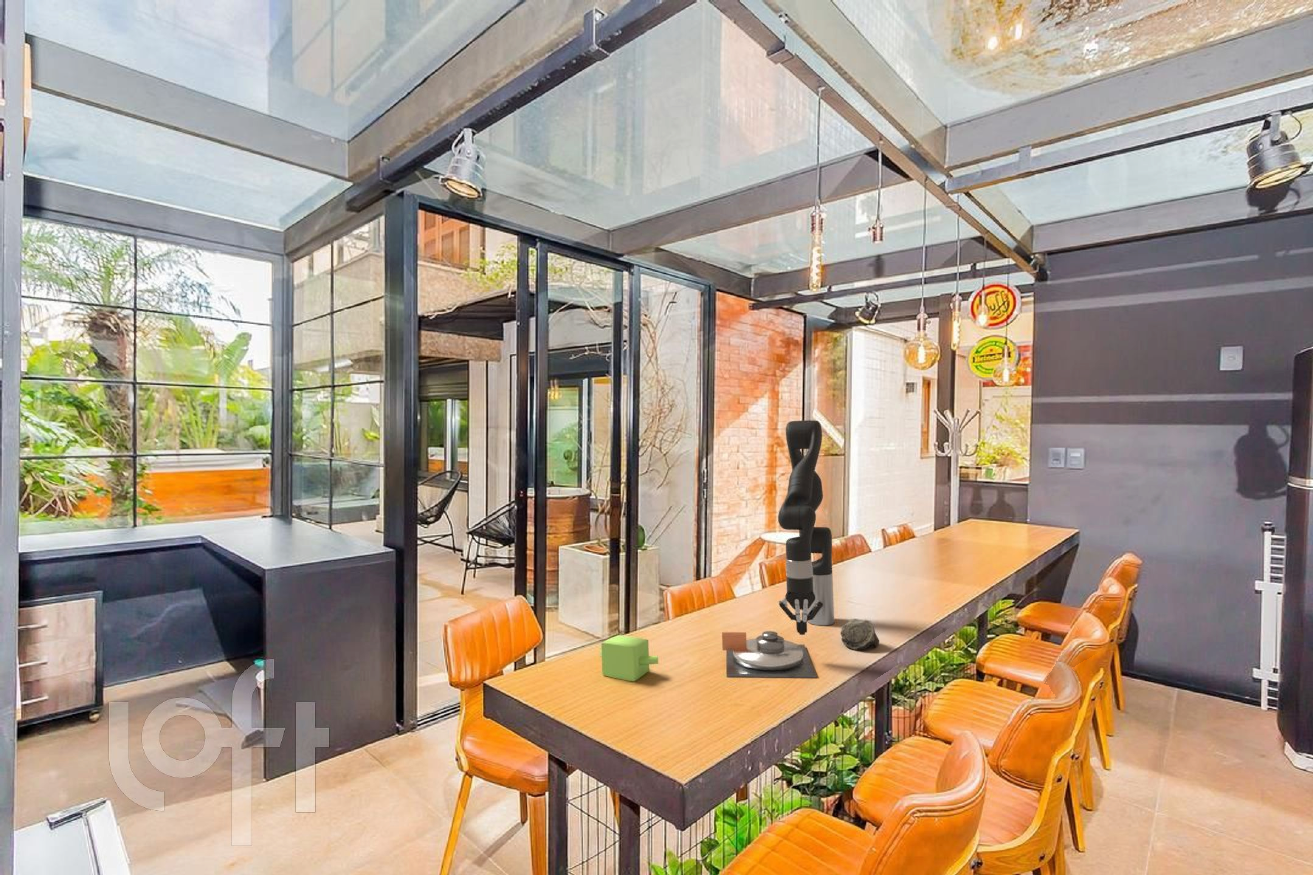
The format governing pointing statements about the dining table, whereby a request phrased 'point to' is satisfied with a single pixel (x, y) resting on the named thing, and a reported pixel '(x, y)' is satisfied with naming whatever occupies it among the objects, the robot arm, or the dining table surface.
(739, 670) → the turntable base
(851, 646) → the fossil
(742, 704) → the dining table surface
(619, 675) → the gearbox
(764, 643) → the cover
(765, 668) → the turntable
